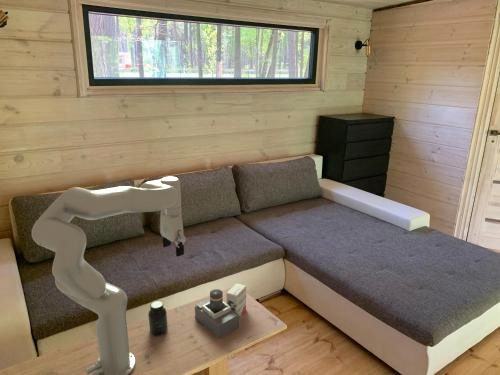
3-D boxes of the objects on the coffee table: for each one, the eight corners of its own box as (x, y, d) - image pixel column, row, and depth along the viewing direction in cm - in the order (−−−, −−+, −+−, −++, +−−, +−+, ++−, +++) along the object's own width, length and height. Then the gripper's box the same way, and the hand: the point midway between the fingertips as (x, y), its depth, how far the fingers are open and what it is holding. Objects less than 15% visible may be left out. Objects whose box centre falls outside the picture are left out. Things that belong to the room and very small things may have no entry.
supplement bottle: (170, 325, 148) (168, 299, 145) (164, 337, 142) (162, 310, 138) (153, 323, 149) (151, 298, 145) (147, 335, 143) (144, 309, 139)
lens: (215, 315, 145) (214, 298, 143) (207, 309, 149) (207, 292, 146) (225, 310, 148) (225, 293, 146) (217, 304, 152) (217, 287, 149)
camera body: (238, 327, 148) (239, 310, 146) (218, 338, 142) (218, 321, 139) (214, 307, 159) (214, 292, 157) (195, 317, 153) (194, 301, 150)
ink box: (236, 305, 161) (236, 282, 157) (246, 309, 159) (246, 285, 155) (226, 316, 154) (226, 292, 150) (236, 320, 152) (236, 295, 148)
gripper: (150, 205, 142) (153, 245, 148) (174, 219, 130) (176, 262, 136) (168, 201, 147) (170, 240, 153) (192, 214, 135) (194, 256, 141)
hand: (173, 250), depth 144 cm, fingers open, 9 cm apart
